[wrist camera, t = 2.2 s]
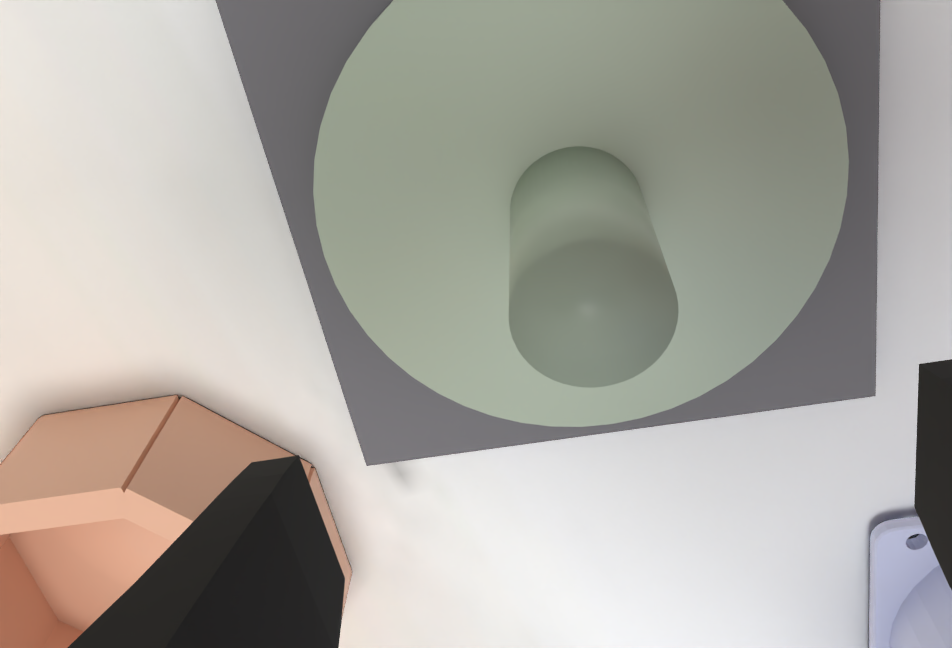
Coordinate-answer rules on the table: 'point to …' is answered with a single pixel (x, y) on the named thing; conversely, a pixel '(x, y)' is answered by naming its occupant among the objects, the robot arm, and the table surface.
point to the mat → (464, 429)
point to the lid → (580, 196)
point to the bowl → (111, 507)
